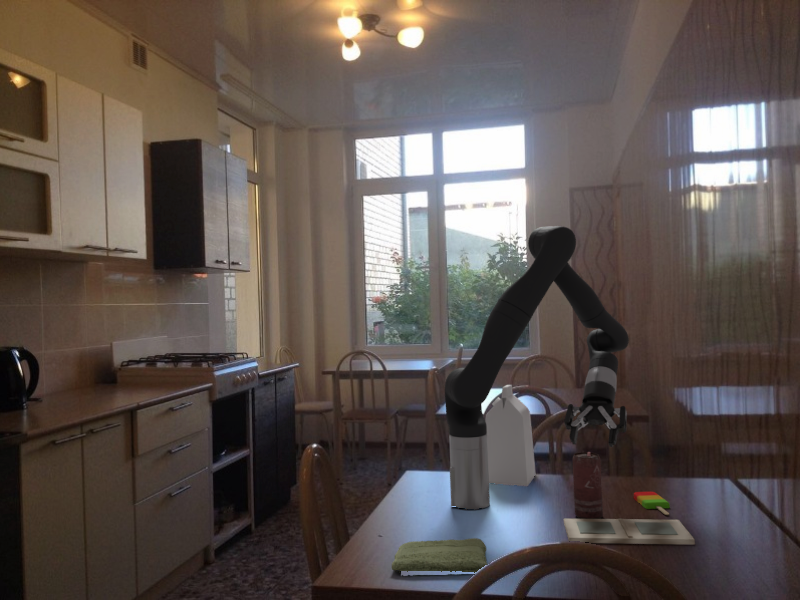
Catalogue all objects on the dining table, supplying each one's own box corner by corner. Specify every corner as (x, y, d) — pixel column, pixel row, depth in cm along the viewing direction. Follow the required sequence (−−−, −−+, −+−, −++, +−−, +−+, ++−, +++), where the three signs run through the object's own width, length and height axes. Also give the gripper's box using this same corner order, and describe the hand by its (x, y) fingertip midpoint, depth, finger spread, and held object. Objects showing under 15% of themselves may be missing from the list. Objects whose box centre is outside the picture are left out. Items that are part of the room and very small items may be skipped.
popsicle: (654, 498, 160) (654, 490, 160) (680, 517, 145) (679, 509, 145) (632, 499, 160) (631, 491, 160) (655, 518, 145) (654, 510, 145)
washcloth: (397, 552, 131) (397, 536, 131) (486, 552, 129) (485, 535, 129) (390, 579, 118) (390, 561, 118) (489, 579, 116) (488, 561, 116)
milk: (527, 486, 174) (523, 388, 174) (485, 483, 178) (481, 388, 178) (535, 475, 185) (531, 383, 185) (495, 472, 189) (492, 383, 190)
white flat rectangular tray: (569, 542, 131) (568, 536, 131) (563, 523, 143) (563, 517, 143) (694, 544, 128) (694, 537, 128) (678, 524, 139) (678, 518, 140)
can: (603, 512, 149) (600, 451, 149) (602, 521, 143) (599, 457, 143) (576, 511, 151) (573, 450, 151) (574, 519, 145) (571, 456, 145)
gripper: (568, 379, 164) (558, 432, 154) (627, 380, 158) (620, 436, 147) (574, 397, 169) (565, 450, 159) (632, 399, 162) (626, 455, 152)
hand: (592, 443), depth 153 cm, fingers open, 8 cm apart
